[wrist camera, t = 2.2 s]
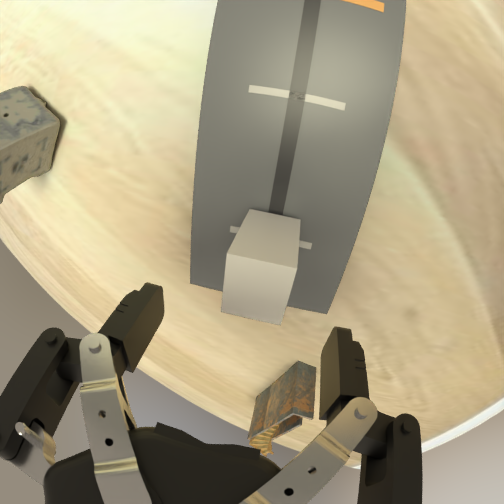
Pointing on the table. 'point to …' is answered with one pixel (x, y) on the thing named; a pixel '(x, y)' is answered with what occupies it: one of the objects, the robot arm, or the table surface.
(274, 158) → the fader console
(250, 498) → the robot arm
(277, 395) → the rusty notched block
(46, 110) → the incense holder
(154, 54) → the table surface
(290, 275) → the fader knob
